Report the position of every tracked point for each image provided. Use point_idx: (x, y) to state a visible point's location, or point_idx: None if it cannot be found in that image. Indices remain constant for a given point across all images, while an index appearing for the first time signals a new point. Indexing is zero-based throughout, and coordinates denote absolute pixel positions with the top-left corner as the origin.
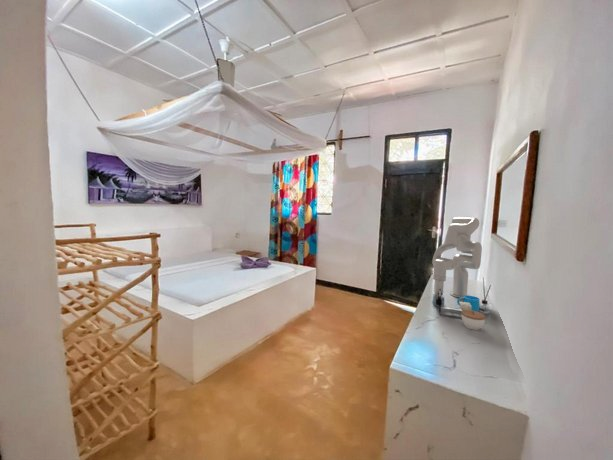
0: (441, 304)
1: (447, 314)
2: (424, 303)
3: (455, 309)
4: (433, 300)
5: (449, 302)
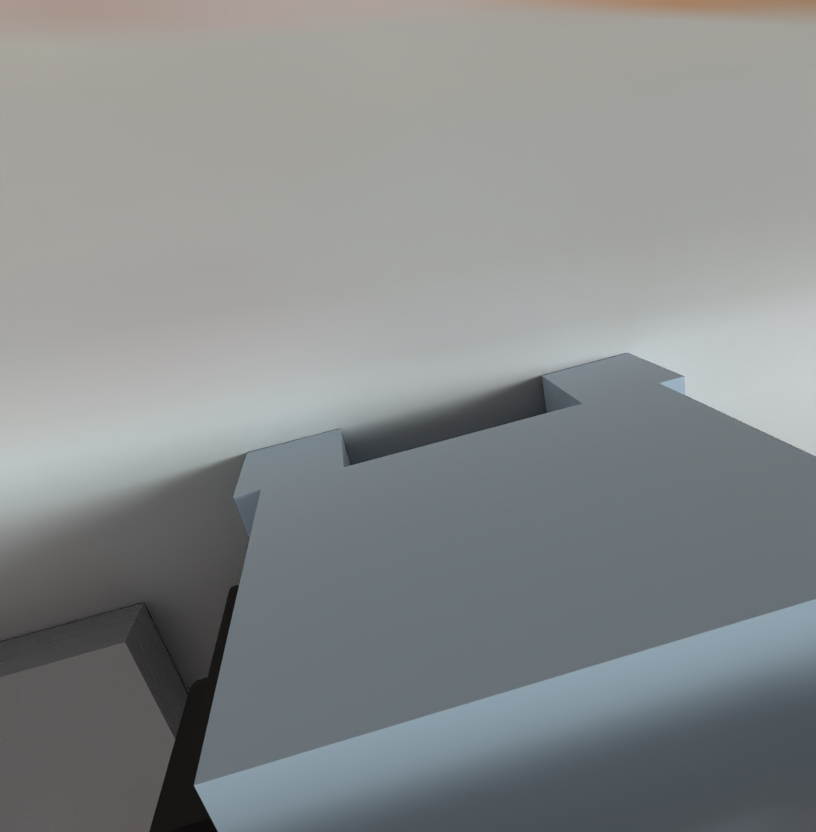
0: None
1: None
2: (202, 82)
3: None
4: (252, 555)
5: None
